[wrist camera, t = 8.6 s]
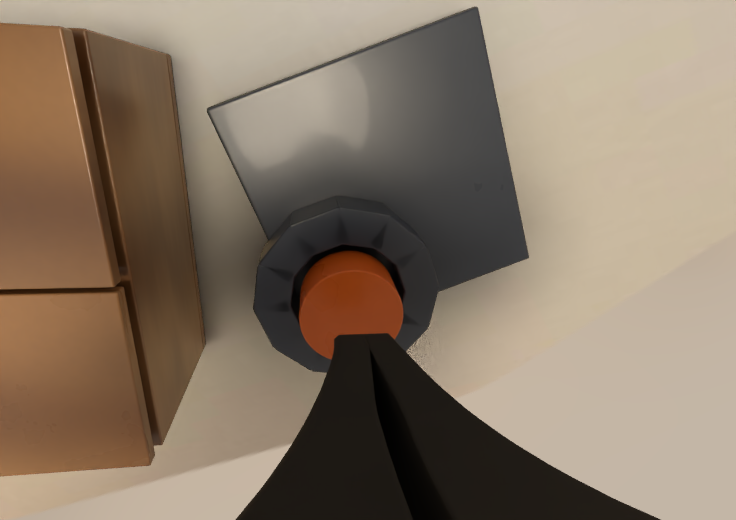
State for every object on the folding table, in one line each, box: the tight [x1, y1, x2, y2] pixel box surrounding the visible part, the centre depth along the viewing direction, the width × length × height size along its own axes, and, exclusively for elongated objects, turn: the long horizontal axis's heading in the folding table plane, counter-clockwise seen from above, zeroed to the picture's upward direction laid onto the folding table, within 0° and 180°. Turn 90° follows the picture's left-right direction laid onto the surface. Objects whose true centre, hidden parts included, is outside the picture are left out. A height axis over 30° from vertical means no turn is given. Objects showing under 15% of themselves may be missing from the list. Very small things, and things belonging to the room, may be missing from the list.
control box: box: [207, 7, 529, 372], centre depth 14 cm, size 10×10×3 cm
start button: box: [299, 251, 403, 360], centre depth 13 cm, size 3×3×2 cm
